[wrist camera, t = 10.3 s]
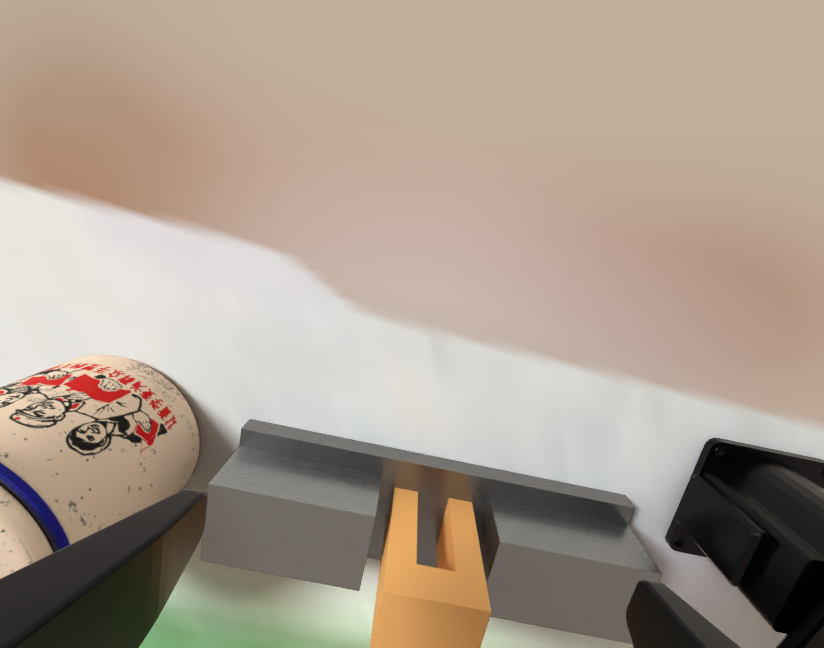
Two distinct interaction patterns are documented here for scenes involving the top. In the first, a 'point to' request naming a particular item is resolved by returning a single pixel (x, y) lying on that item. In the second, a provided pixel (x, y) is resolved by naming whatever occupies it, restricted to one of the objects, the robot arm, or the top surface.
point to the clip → (430, 582)
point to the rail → (425, 525)
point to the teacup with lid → (87, 452)
